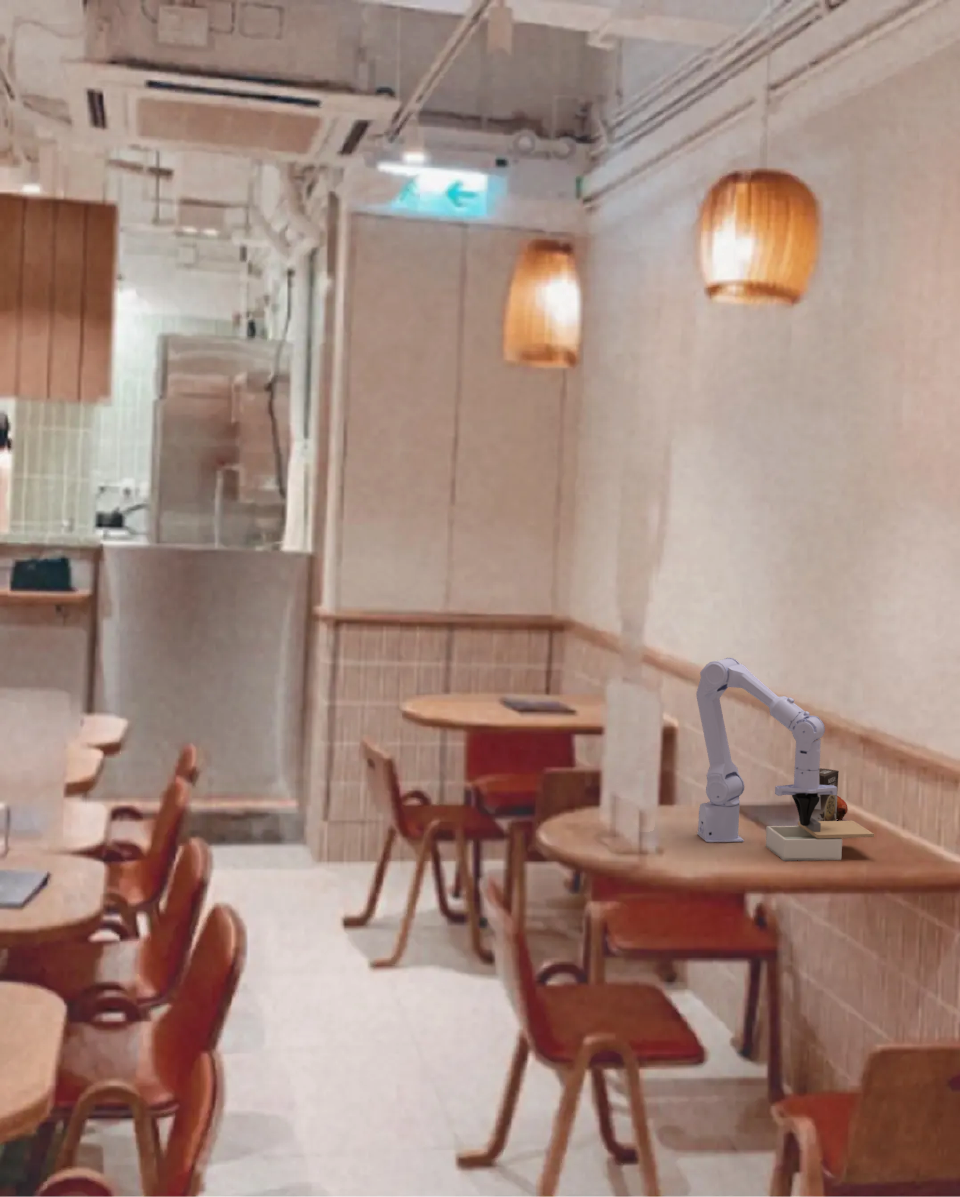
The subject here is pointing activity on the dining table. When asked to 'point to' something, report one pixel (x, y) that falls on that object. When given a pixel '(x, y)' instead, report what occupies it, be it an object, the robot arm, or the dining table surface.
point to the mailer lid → (836, 829)
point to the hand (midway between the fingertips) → (804, 824)
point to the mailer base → (801, 844)
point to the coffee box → (826, 797)
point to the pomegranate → (841, 808)
